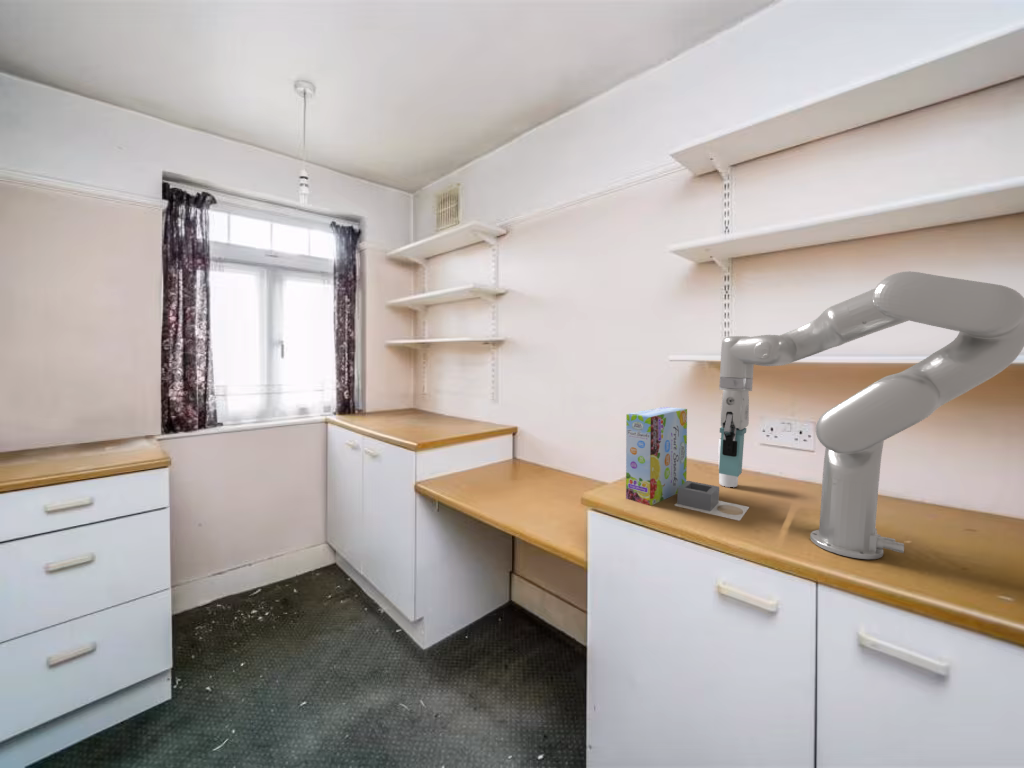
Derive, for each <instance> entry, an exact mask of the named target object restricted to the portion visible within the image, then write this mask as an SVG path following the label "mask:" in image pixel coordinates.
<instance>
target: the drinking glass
mask: <svg viewBox="0 0 1024 768" xmlns="http://www.w3.org/2000/svg"><path fill="white" fill-rule="evenodd" d="M717 443H718V444H717V454H718V455H717V460H718V461H717V462H718V463H719V462H720V446H721V437H718V442H717ZM738 483H739V476H738V477H736V476H731V475H726V474H720V473H719V472H718V484H719V485H720V486H722V487H724V486H725V488H730V487H733V488H736V487H738V485H739V484H738Z"/></svg>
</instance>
